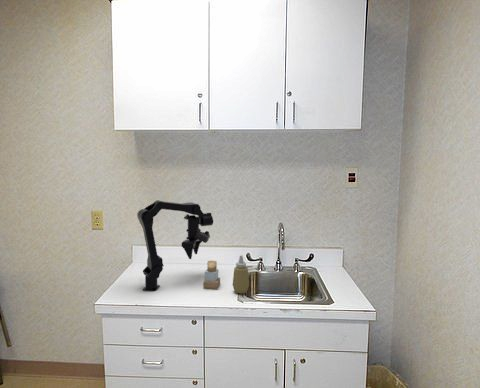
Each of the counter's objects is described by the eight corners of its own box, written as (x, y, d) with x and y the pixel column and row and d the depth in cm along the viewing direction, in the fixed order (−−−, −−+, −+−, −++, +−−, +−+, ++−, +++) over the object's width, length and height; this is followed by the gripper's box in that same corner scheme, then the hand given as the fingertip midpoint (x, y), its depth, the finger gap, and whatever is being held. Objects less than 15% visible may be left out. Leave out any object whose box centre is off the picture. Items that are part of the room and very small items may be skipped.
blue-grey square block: (215, 281, 179) (215, 272, 178) (204, 280, 180) (204, 271, 180) (218, 277, 184) (218, 269, 184) (207, 276, 185) (207, 268, 185)
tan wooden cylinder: (215, 272, 179) (215, 263, 178) (206, 272, 179) (206, 263, 179) (217, 269, 183) (217, 260, 183) (208, 268, 184) (208, 260, 183)
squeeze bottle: (236, 296, 171) (236, 259, 168) (230, 290, 178) (230, 254, 176) (251, 293, 174) (252, 257, 171) (245, 287, 181) (245, 252, 179)
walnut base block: (217, 290, 178) (217, 282, 178) (203, 289, 179) (203, 281, 179) (220, 285, 185) (220, 277, 185) (206, 284, 186) (206, 276, 186)
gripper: (202, 232, 177) (202, 263, 179) (213, 224, 195) (212, 252, 197) (181, 230, 179) (181, 261, 181) (193, 223, 197) (193, 251, 199)
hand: (193, 256), depth 189 cm, fingers open, 9 cm apart
